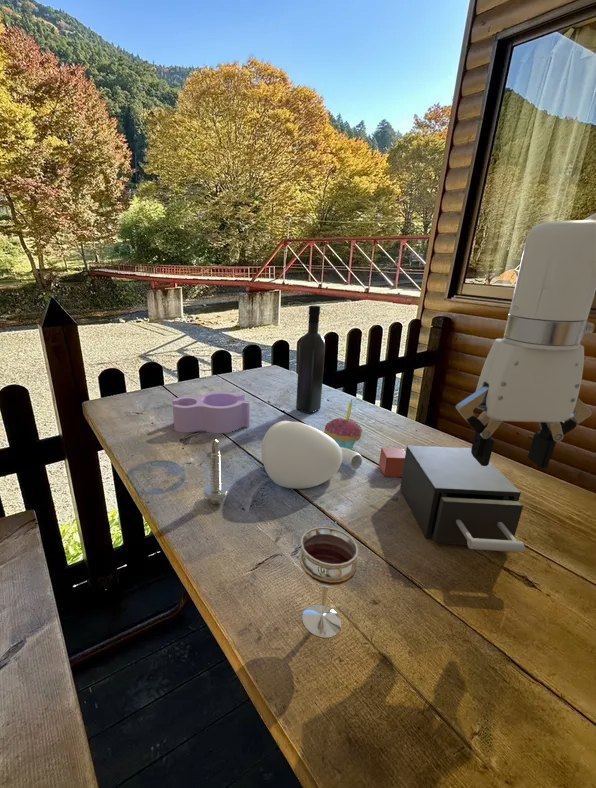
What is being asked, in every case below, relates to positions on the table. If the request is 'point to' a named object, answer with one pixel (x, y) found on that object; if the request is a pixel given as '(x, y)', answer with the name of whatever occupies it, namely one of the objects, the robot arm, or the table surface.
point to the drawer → (478, 521)
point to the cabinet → (447, 480)
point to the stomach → (303, 455)
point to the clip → (211, 412)
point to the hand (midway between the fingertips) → (508, 461)
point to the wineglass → (326, 573)
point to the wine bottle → (310, 365)
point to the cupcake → (344, 430)
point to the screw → (215, 477)
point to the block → (392, 461)
